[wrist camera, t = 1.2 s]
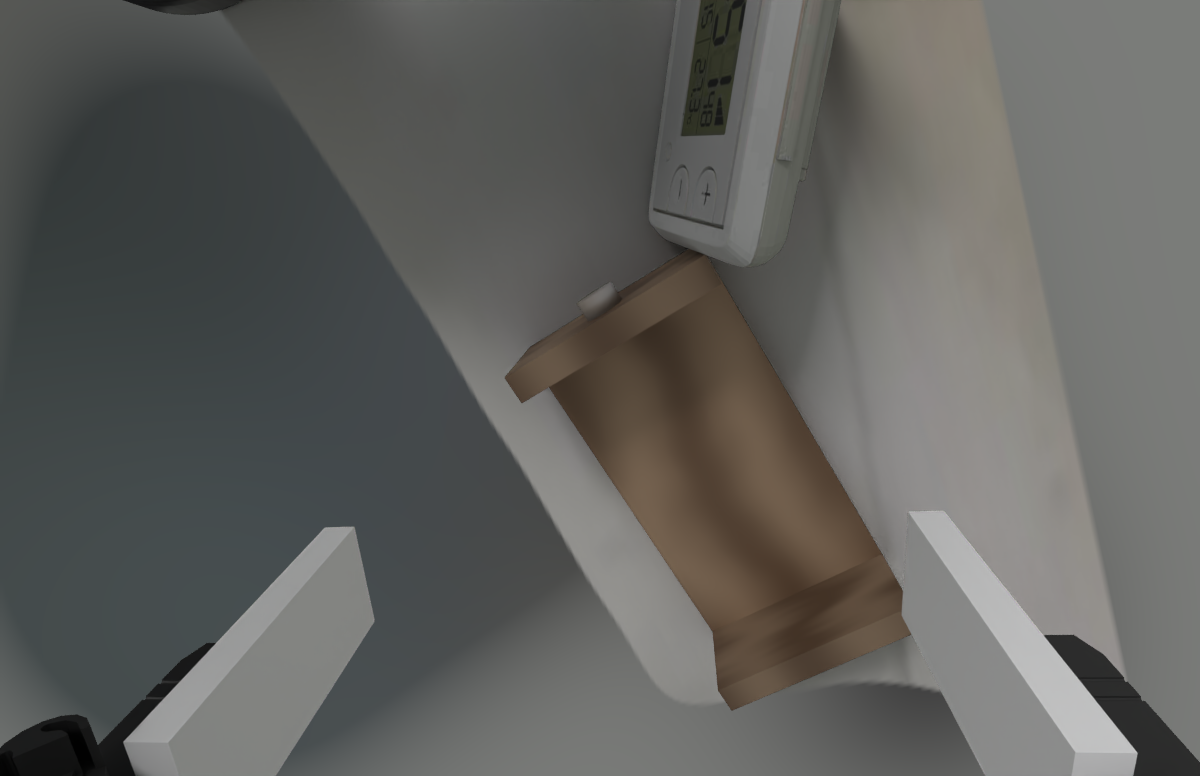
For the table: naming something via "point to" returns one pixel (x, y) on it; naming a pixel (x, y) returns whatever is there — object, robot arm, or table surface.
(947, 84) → the table surface
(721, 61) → the digital clock
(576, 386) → the walnut holder
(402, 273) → the table surface
